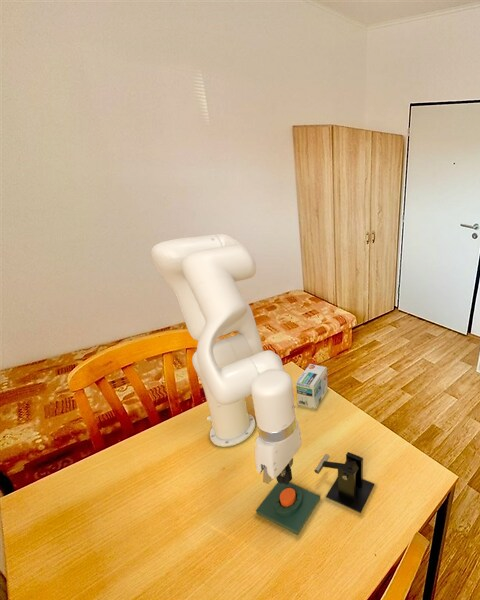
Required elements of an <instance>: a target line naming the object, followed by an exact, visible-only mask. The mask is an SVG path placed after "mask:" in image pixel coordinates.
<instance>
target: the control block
mask: <svg viewBox="0 0 480 600" xmlns="http://www.w3.org/2000/svg"><path fill="white" fill-rule="evenodd" d="M287 488H292V489H294V490H295V494H296V500H295V502H294V503H293V504H292V505H291V506H289V507H284V506H282V505H281V503H280V494H281V492H282V491H283V490H285V489H287ZM320 501H321V495H318V494H316V493H315V492H312V491H310V490H308V489H305V488H303V487H301V486H300V485H297V484H295V483H293V482H291V481H289V484H288V485H286V484H284V483H283V484H280V483H278V482H276V484H275V486H273V488H272V489H271V490H270V492H269V493H268V494H267V496H266V497H265V498H264V499H263V500H262V502H261V503H260V505H259V506H258V507H257V508H256V510H255V513H256V515H258V516H260V517H262V518H264V519H266V520H268V521H269V522H272V523H273V524H275V525H277V526H278V527H281V528H283V529H285V530H287V531H288V532H290V533H292V534H295V535H296V536H299V535H300V533H301V532H302V530H303V528H304V526H305V525H306V523H307V521H308V520H309V518H310V517H311V515H312V514H313V512H314V510H315V509H316V507H317V505H318V504H319V503H320Z"/></svg>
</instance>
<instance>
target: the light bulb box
mask: <svg viewBox="0 0 480 600" xmlns="http://www.w3.org/2000/svg"><path fill="white" fill-rule="evenodd" d="M295 386H296V396H297V405H298V406H302V407H306V408H310V409H313V410H317V408H318V407H319V405H320V403H321V402H322V400H323V399H324V397H325V395H326V394H327V392H328V368H327V366H323V365H317V364H313V363H309V364H308V366H307V367H306V368H305V370H304V371H303V372H302V373H301V375H299V377H298V378H297V380H296V381H295Z"/></svg>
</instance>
